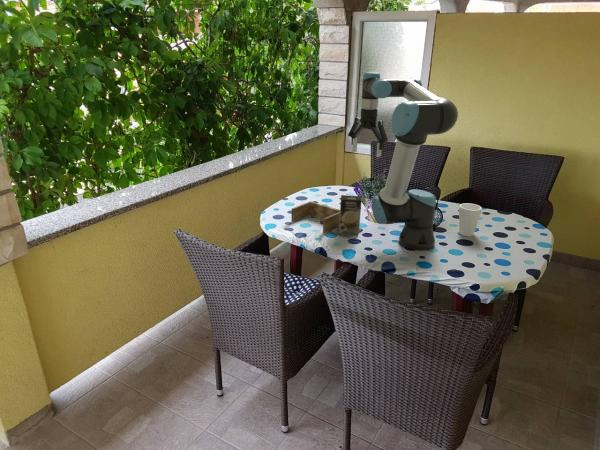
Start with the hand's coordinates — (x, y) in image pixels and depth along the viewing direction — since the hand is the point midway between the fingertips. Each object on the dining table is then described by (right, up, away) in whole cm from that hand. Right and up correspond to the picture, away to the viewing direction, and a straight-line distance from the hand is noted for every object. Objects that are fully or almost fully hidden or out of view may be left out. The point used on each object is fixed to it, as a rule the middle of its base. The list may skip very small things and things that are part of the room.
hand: (366, 154), depth 214 cm
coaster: (-10, -36, -5) cm, 38 cm away
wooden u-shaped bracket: (-23, -33, +3) cm, 40 cm away
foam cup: (+45, -37, -6) cm, 59 cm away
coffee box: (-9, -36, -6) cm, 38 cm away
